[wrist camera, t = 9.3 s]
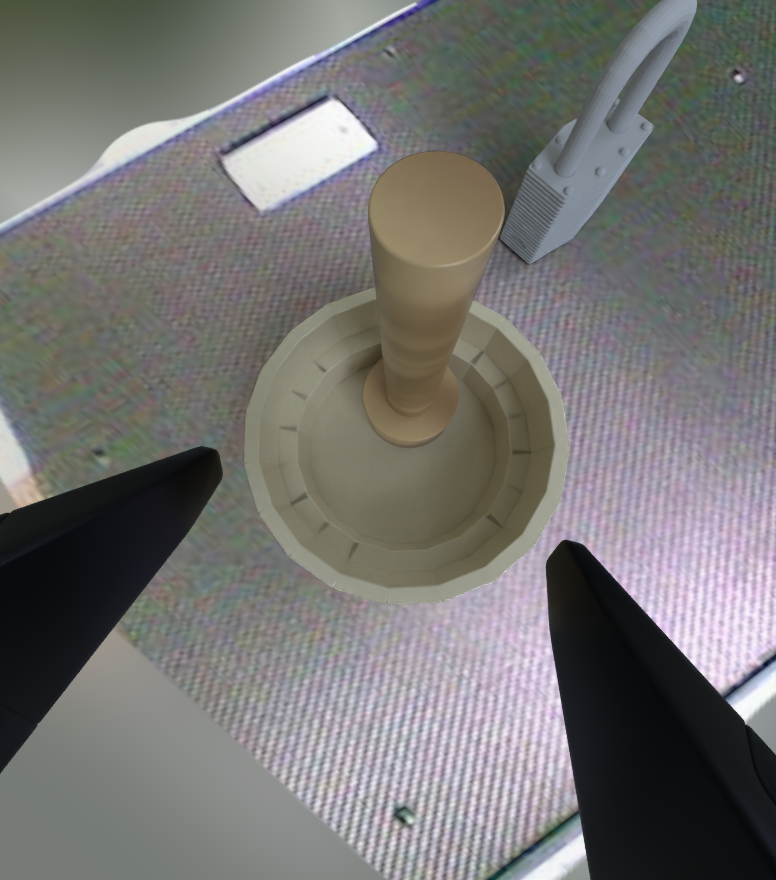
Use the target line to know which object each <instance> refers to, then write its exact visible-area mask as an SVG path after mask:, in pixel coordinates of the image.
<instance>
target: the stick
mask: <svg viewBox="0 0 776 880" xmlns="http://www.w3.org/2000/svg"><path fill="white" fill-rule="evenodd" d="M504 215H505V206H504V199H503V195H502V192H501V189H500V187H499V185H498V183H497V181H496V180H495V179H494V177H493V176H492V175H491V174H490V172H489V171H488V170H487V169H485V168H484V167H483V166H482V165H480V164H479V163H477V162H476V161H474V160H472V159H470V158H468V157H466V156H463V155H460V154H457V153H452V152H446V151H427V152H421V153H416V154H413V155H410V156H407V157H405V158H403V159H401V160H399V161H397V162H396V163H394V164H393V165H392V166H390V167H389V168H388V169H387V170H386V171H385V172H384V173H383V174H382V175H381V176H380V177H379V179H378V180H377V182H376V183H375V185H374V187H373V190H372V192H371V195H370V198H369V202H368V221H369V231H370V241H371V251H372V260H373V270H374V280H375V290H376V299H377V309H378V319H379V328H380V338H381V348H382V359H380V360H379V361H378V362H377V363H376V364H375V365H374V366H373V367H372V369H371V370H370V371H369V373H368V375H367V377H366V379H365V382H364V386H363V395H362V396H363V404H364V408H365V411H366V414H367V417H368V419H369V422H370V424H371V426H372V428H373V429H374V431H375V432H376V433H377V434H378V435H379V436H380V437H381V438H382V439H383V440H385V441H386V442H388V443H390V444H392V445H395V446H398V447H403V448H416V447H421V446H424V445H426V444H428V443H430V442H432V441H434V440H435V439H436V438H437V437H439V436H440V435H441V433H442V432H443V431H444V430H445V428H446V427H447V426H448V424H449V423H450V421H451V420H452V418H453V417H454V414H455V412H456V409H457V406H458V400H459V391H458V385H457V382H456V379H455V377H454V375H453V373H452V371H451V370H450V369H449V367H448V363H449V361H450V358H451V356H452V353H453V351H454V348H455V346H456V343H457V340H458V338H459V335H460V333H461V330H462V328H463V325H464V323H465V320H466V318H467V315H468V312H469V310H470V307H471V305H472V302H473V300H474V297H475V295H476V292H477V290H478V287H479V285H480V282H481V279H482V277H483V274H484V272H485V269H486V267H487V264H488V262H489V259H490V257H491V254H492V251H493V249H494V246H495V244H496V241H497V239H498V236H499V234H500V231H501V228H502V225H503V222H504Z"/></svg>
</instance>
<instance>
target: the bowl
mask: <svg viewBox="0 0 776 880" xmlns="http://www.w3.org/2000/svg"><path fill="white" fill-rule="evenodd" d="M380 359H382V348H381V338H380V328H379V319H378V309H377V299H376V290H375V287H373V288H370V289H367V290H364V291H361V292H359V293H356V294H353V295H350V296H347V297H345V298H342V299H339V300H336V301H333V302H331V303H329V304H326V305H325V306H323V307H322V308H321V309H319V310H318V311H317V312H315V313H314V314H312V315H311V316H310V317H308V318H307V319H306V320H304V321H303V322H301V323H300V324H299V325H297V326H296V327H295V328H293V329H292V330H291V332H289V333H288V334H287V336H286V337H285V338H284V340H283V341H282V342H281V344H280V345H279V346H278V348H277V349H276V350H275V352H274V353H273V354H272V355H271V357H270V358H269V359H268V361H267V362H266V363H265V365H264V366H263V367H262V369H261V371H260V374H259V377H258V379H257V382H256V385H255V388H254V390H253V393H252V396H251V399H250V402H249V404H248V407H247V410H246V413H245V414H246V415H245V436H244V467H245V471H246V474H247V477H248V481H249V484H250V488H251V491H252V494H253V498H254V501H255V505H256V508H257V511H258V513H259V515H260V517H261V518H262V520H263V521H264V523H265V524H266V525H267V527H268V528H269V530H270V531H271V533H272V534H273V535H274V537H275V538H276V540H277V541H278V543H279V544H280V545H281V547H282V548H283V550H284V551H285V552H286V554H287V555H288V556H289V557H290V558H291V559H292V560H294V561H295V562H296V563H298V564H299V565H301V566H302V567H303V568H305V569H306V570H307V571H309V572H310V573H312V574H313V575H314V576H316V577H317V578H318V579H320V580H321V581H323V582H324V583H325V584H327V585H328V586H329V587H331V588H334V589H335V590H338V591H342V592H345V593H348V594H351V595H355V596H358V597H361V598H365V599H368V600H371V601H375V602H378V603H381V604H387V605H396V604H419V603H440V602H441V601H442V602H445V601H447V600H450V599H452V598H455V597H457V596H460V595H462V594H465V593H467V592H470V591H472V590H475V589H477V588H480V587H482V586H485V585H487V584H490V583H492V582H493V581H496V580H497V579H498V578H499V577H500V576H501V575H502V574H503V573H505V572H506V571H507V570H508V569H509V568H510V567H511V566H512V565H514V564H515V563H516V562H517V561H518V560H519V559H520V558H522V557H523V556H524V555H525V554H526V553H527V552H528V551H529V550H531V549H532V548H533V547H534V546H535V545H536V543H537V541H538V540H539V538H540V536H541V534H542V532H543V531H544V529H545V527H546V525H547V523H548V522H549V520H550V518H551V516H552V514H553V513H554V511H555V509H556V507H557V505H558V504H559V502H560V500H561V497H562V491H563V486H564V480H565V474H566V468H567V463H568V457H569V451H570V447H569V446H570V444H569V437H568V431H567V424H566V418H565V411H564V405H563V399H562V398H561V397H562V395H561V393H560V391H559V389H558V387H557V385H556V383H555V381H554V379H553V377H552V375H551V373H550V371H549V370H548V368H547V366H546V364H545V362H544V360H543V358H542V356H541V354H539V351H538V350H537V349H536V348H535V347H534V346H533V345H532V344H531V343H530V342H529V341H528V340H527V339H526V338H525V337H524V336H523V335H522V334H521V333H520V332H519V331H518V330H517V329H516V328H515V327H514V326H513V325H512V324H511V323H510V322H509V321H508V319H506V318H505V317H504V316H502V315H500V314H498V313H496V312H495V311H493V310H491V309H489V308H487V307H486V306H484V305H482V304H480V303H478V302H477V301H475V300H473V302H472V305H471V307H470V310H469V312H468V315H467V318H466V320H465V323H464V325H463V328H462V330H461V333H460V335H459V338H458V340H457V343H456V346H455V348H454V351H453V353H452V356H451V358H450V361H449V363H448V367H449V369H450V370H451V371H452V373H453V375H454V377H455V379H456V382H457V385H458V391H459V400H458V406H457V409H456V412H455V414H454V417H453V418H452V420H451V421H450V423H449V424H448V426H447V427H446V428H445V430H444V431H443V432H442V433H441V435H440V436H439V437H437V438H436V439H435V440H434V441H432V442H430V443H428V444H426V445H424V446H421V447H416V448H403V447H398V446H395V445H392V444H390V443H388V442H386V441H385V440H383V439H382V438H381V437H380V436H379V435H378V434H377V433H376V432H375V431H374V429H373V428H372V426H371V424H370V422H369V419H368V417H367V414H366V411H365V408H364V404H363V396H362V395H363V386H364V382H365V379H366V377H367V375H368V373H369V371H370V370H371V369H372V367H373V366H374V365H375V364H376V363H377V362H378V361H379V360H380Z"/></svg>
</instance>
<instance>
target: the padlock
mask: <svg viewBox="0 0 776 880" xmlns="http://www.w3.org/2000/svg"><path fill="white" fill-rule="evenodd" d="M696 7H697V0H661V1H660V2H659V3H658V4H656V5H655V6H654V7H653V8H652V9H651V10H650V11H649V12H648V13H647V14H646V15H645V16H644V17H643V18H642V19H641V20H640V21H639V22H638V23H637V24H636V25H635V26H634V27H633V29H632V30H631V31H630V32H629V33H628V35H627V36H626V37H625V38H624V40H623V41H622V42H621V44H620V45H619V46H618V47H617V49H616V50H615V52H614V53H613V55H612V56H611V58H610V59H609V61H608V62H607V64H606V65H605V67H604V69H603V71H602V72H601V74H600V76H599V77H598V79H597V81H596V83H595V85H594V86H593V88H592V90H591V92H590V94H589V96H588V98H587V100H586V102H585V104H584V106H583V108H582V110H581V112H580V114H579V116H578V118H577V119H575V120H573V121H572V122H570V123H568V124H566V125H565V126H564V127H563V128H562V129H561V130H560V131H559V132H558V134H557V135H556V136H555V137H554V138H553V139H552V140H551V142H550V143H549V144H548V145H547V146H546V147H545V148H544V150H543V151H542V152H541V153H540V154H539V155H538V156H537V157H536V159H535V160H534V161H533V162H532V163H531V164H530V165H529V167H528V169H527V170H526V173H525V176H524V178H523V181H522V183H521V185H520V188H519V191H518V193H517V195H516V199H515V200H514V203H513V205H512V208H511V211H510V213H509V215H508V218H507V220H506V223H505V225H504V228H503V231H502V233H501V235H500V239H501V240H502V241H503V242H504V243H505V244H506V245H507V246H508V247H510V248H511V249H512V250H513V251H514V252H515V253H516V254H517V255H519V256H520V257H521V258H522V259H523V260H524V261H525V262H526V263H528V264H531V263H533V262H534V261H536V260H538V259H539V258H541V257H543V256H544V255H546V254H548V253H549V252H551V251H553V250H554V249H556V248H558V247H559V246H561V245H563V244H564V243H566V242H568V241H569V240H571V239H572V238H573V237H574V236H575V235H576V233H577V232H578V231H579V230H580V228H581V227H582V226H583V225H584V224H585V222H586V221H587V220H588V219H589V217H590V216H591V215H592V214H593V213H594V211H595V210H596V209H597V208H598V206H599V205H600V204H601V202H602V201H603V200H604V198H605V197H606V195H607V194H608V192H609V191H610V189H611V188H612V187H613V185H614V184H615V182H616V181H617V179H618V178H619V177H620V175H621V174H622V172H623V171H624V169H625V168H626V167H627V165H628V164H629V162H630V161H631V160H632V158H633V157H634V155H635V154H636V153H637V151H638V150H639V148H640V147H641V145H642V144H643V142H644V141H645V140H646V138H647V137H648V135H649V134H650V132H651V131H652V129H653V127H654V126H653V124H651V123H650V122H649V121H647V120H646V119H645V118H643V117H642V116H641V115H639V114H638V111H639V110H640V108H641V107H642V105H643V103H644V102H645V100H646V99H647V97H648V95H649V94H650V92H651V91H652V89H653V88H654V86H655V84H656V83H657V81H658V80H659V78H660V76H661V75H662V73H663V72H664V70H665V69H666V67H667V65H668V64H669V62H670V61H671V59H672V57H673V56H674V54H675V52H676V51H677V49H678V47H679V46H680V44H681V42H682V41H683V39H684V37H685V35H686V33H687V31H688V29H689V27H690V25H691V23H692V20H693V18H694V15H695V12H696ZM641 62H642V63H641ZM640 63H641V65H640V66H639V64H640ZM638 66H639V68H638V70H637V72H636V73H635V75H634V77H633V79H632V81H631V82H630V84H629V86H628V88H627V89H626V91H625V93H624V95H623V96H622V98H621V100H619V99H618V98H617V96H618V95H619V93H620V92H621V90H622V88H623V87H624V85H625V84H626V82H627V81H628V79H629V78H630V76H631V75H632V74H633V72H634V71H635V70H636V68H637V67H638Z"/></svg>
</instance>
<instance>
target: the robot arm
mask: <svg viewBox="0 0 776 880" xmlns="http://www.w3.org/2000/svg"><path fill="white" fill-rule="evenodd" d="M222 476H223V471H222V466H221V461H220V456H219V453H218V451H217V450H215V449H212V448H208V447H204V446H199V447H196V448H193V449H190V450H187V451H184V452H182V453H179V454H176V455H173V456H170V457H167V458H164V459H161V460H158V461H155V462H153V463H150V464H147V465H144V466H141V467H138V468H135V469H132V470H129V471H126V472H124V473H121V474H118V475H115V476H112V477H109V478H106V479H103V480H100V481H97V482H94V483H92V484H89V485H86V486H83V487H80V488H77V489H74V490H71V491H68V492H65V493H62V494H60V495H57V496H54V497H51V498H48V499H45V500H42V501H39V502H36V503H33V504H31V505H28V506H25V507H22V508H19V509H16V510H13V511H12V512H11V513H4V514H1V515H0V773H1V772H2V771H3V769H4V768H5V767H6V766H7V764H8V763H9V762H10V760H11V759H12V757H14V755H15V754H16V752H17V751H18V750H19V749H20V748H21V746H22V745H23V744H24V742H25V741H26V740H27V739H28V737H29V736H30V735H31V733H32V732H33V731H34V730H35V728H36V727H37V724H38V723H39V722H40V721H41V720H42V719H43V718H44V716H45V715H46V714H47V712H48V711H49V710H50V708H51V707H52V706H53V705H54V704H55V702H56V701H57V700H58V698H59V697H60V696H61V695H62V693H63V692H64V691H65V689H66V688H67V687H68V686H69V684H70V683H71V681H73V679H74V678H75V677H76V675H77V674H78V673H79V672H80V670H81V669H82V668H83V666H84V665H85V664H86V663H87V661H88V660H89V659H90V657H91V656H92V655H93V654H94V652H95V651H96V650H97V648H98V647H99V646H100V645H101V643H102V642H103V641H104V639H105V638H106V637H107V635H108V634H109V633H110V632H111V631H112V629H113V628H114V627H115V625H116V624H117V623H118V622H119V620H120V619H121V618H122V616H123V615H124V614H125V613H126V611H127V610H128V609H129V607H130V606H131V605H132V604H133V602H134V601H135V600H136V599H137V597H138V596H139V595H140V593H141V592H142V591H143V590H144V588H145V587H146V586H147V584H148V583H149V582H150V581H151V579H152V578H153V577H154V575H155V574H156V573H157V572H158V570H159V569H160V568H161V567H162V565H163V564H164V563H165V561H166V560H167V559H168V558H169V556H170V555H171V554H172V552H173V551H174V550H175V549H176V547H177V546H178V545H179V543H180V542H181V541H182V540H183V538H184V537H185V536H186V534H187V533H188V532H189V530H190V529H191V527H192V526H193V524H194V523H195V521H196V520H197V518H198V517H199V515H200V513H201V512H202V510H203V509H204V507H205V505H206V504H207V502H208V501H209V499H210V498H211V496H212V494H213V493H214V491H215V490H216V488H217V486H218V485H219V483H220V481H221V479H222ZM546 579H547V597H548V615H549V628H550V636H551V643H552V649H553V655H554V661H555V667H556V673H557V679H558V685H559V691H560V697H561V703H562V710H563V716H564V722H565V728H566V734H567V740H568V746H569V752H570V758H571V764H572V770H573V776H574V782H575V789H576V795H577V801H578V807H579V813H580V819H581V825H582V831H583V837H584V843H585V849H586V855H587V861H588V867H589V873H590V879H591V880H776V755H775V754H774V753H773V751H772V750H771V749H770V748H769V747H768V746H767V745H766V744H765V743H764V741H763V740H762V739H761V738H760V737H759V736H758V735H757V734H756V733H755V732H754V731H753V729H752V728H751V727H750V726H748V725H746V724H745V722H744V720H743V719H742V718H741V716H740V715H739V714H738V713H737V712H736V711H735V710H734V709H733V708H732V707H731V706H730V704H729V703H728V702H727V701H726V700H725V699H724V698H723V697H722V696H721V695H720V694H719V692H718V691H717V690H716V689H715V688H714V687H713V686H712V685H711V684H710V683H709V681H708V680H707V679H706V678H705V677H704V676H703V675H702V674H701V673H700V672H699V671H698V669H697V668H696V667H695V666H694V665H693V664H692V663H691V662H690V661H689V660H688V659H687V657H686V656H685V655H684V654H683V653H682V652H681V651H680V650H679V649H678V648H677V647H676V645H675V644H674V643H673V642H672V641H671V640H670V639H669V638H668V637H667V636H666V634H665V633H664V632H663V631H662V630H661V629H660V628H659V627H658V626H657V625H656V624H655V622H654V621H653V620H652V619H651V618H650V617H649V616H648V615H647V614H646V613H645V612H644V610H643V609H642V608H641V607H640V606H639V605H638V604H637V603H636V602H635V601H634V600H633V598H632V597H631V596H630V595H629V594H628V593H627V592H626V591H625V590H624V589H623V587H622V586H621V585H620V584H619V583H618V582H617V581H616V580H615V579H614V578H613V577H612V575H611V574H610V573H609V572H608V571H607V570H606V569H605V568H604V567H603V566H602V565H601V563H600V562H599V561H598V560H597V559H596V558H595V557H594V556H593V555H592V554H591V552H590V551H589V550H588V549H587V548H586V547H585V546H584V545H582V544H581V543H577V542H573V541H570V540H563V541H561V542H560V544H559V545H558V546H557V547H556V549H555V550H554V551H553V553H552V554H551V555H550V556H549V558H548V560H547V563H546Z"/></svg>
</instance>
